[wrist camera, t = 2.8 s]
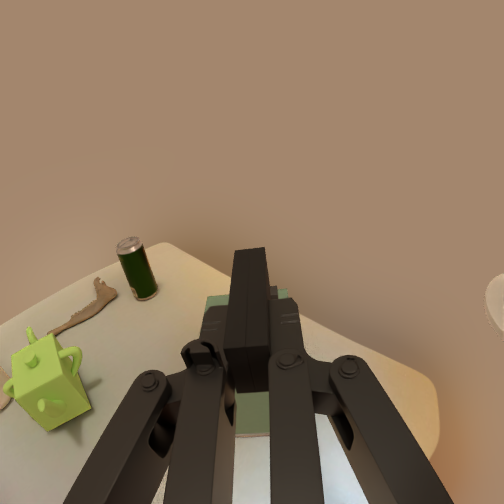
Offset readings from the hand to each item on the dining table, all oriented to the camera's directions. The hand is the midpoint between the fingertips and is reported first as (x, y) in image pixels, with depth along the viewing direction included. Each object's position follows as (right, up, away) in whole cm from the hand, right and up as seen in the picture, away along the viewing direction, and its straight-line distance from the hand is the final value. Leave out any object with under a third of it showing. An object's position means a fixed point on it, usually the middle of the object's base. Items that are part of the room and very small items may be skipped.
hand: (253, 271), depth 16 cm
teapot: (-29, -22, +21) cm, 42 cm away
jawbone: (-38, -12, +42) cm, 58 cm away
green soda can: (-22, -8, +45) cm, 50 cm away
